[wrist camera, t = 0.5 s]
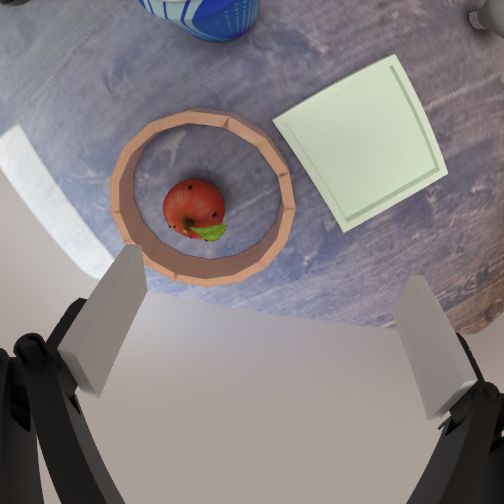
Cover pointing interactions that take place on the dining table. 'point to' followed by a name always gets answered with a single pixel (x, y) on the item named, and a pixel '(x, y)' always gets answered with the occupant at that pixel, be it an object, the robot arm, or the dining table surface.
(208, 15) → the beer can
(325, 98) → the tray
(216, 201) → the apple
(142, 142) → the ring band
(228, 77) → the dining table surface
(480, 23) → the light bulb
